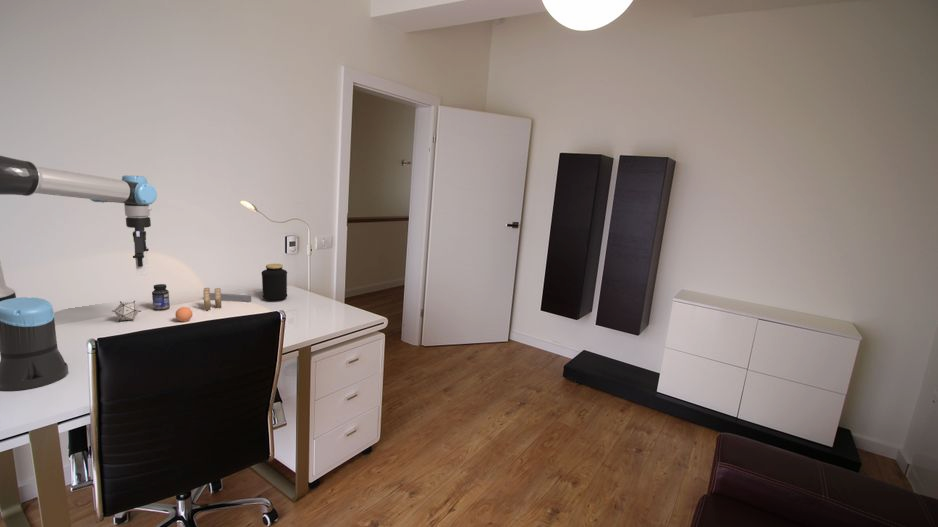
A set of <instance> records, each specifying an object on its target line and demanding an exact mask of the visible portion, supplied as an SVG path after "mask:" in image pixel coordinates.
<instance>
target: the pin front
mask: <svg viewBox="0 0 938 527" xmlns="http://www.w3.org/2000/svg"><path fill="white" fill-rule="evenodd" d="M210 293H211V290H210V291H209V290H205V291H204V290H203V307H204V309H203V310H210V311H211V307H210V303H211V300H210Z"/></svg>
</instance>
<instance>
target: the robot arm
mask: <svg viewBox="0 0 938 527" xmlns="http://www.w3.org/2000/svg"><path fill="white" fill-rule="evenodd" d="M34 194H39V195H40V194H41V195H48V196H59V197H68V198H77V199H85V200H86V199H87V200H90V201H92V202H94V203H118V204H124V205H123V206H124V215H125V216H126V218H125V225H126V228H130V229H131V228H132V229H133V228H134V231H132V237H133V243H134V244H133V245H134V255H132V258H133V259H135V270H136V276H143V275H144V276H145V275H147V274H146V273H147V272H146V271H147V270H146V268H149V265H148V264H149V263H148V252H149V248H148V246H147V241H146V240H147V231H146V230H145V228H150V227H151V226H152V224H151V217H150V216H151V215H150V214H151V213H150V211H152V208H151V207H150V205H152V204H154V203H155V202H156V200H157V197H158V196H157V195H158V193H157V190H156V188H155V186H153V185H152V184H150V183H148V180H147V177H145V176H144V175H128V174H127V175H123V176H122V177H121V179H116V178H110V177H104V176H98V175H92V174H85V173H80V172H73V171H66V170H62V169H61V170H59V169H55V168H47V167H44V166H43V167H42V166H37V165H36V164H35V163H33V162H32V161H28V160H21V159H16V158H13V157H9V156H8V157H7V156H4V155H0V195H4V196H5V195H12V196H13V195H14V196H25V197H26V196H27V197H29V196H32V195H34ZM4 276H5V275H4V271H3V268H2V263H1V261H0V390H1V391H8V392H9V391H10V392H11V391H13V392H14V391H22V390H23V391H24V390H30V389H34V388H39V387H43V386H47V385H49V384H52V383H55V382H57V381H60V380H61V379H64V378H65V377H67V375H69V364H68V363H67V362H65V359H64V357H63V355H62V354H61V352H60V350H59V349H58V340H57V332H56V323H55V322H56V321H55V312H54V308H53V305H52V303H51V302H50V301H49V300H46V299H45V298H39V297H28V296H26V297H25V296H23V297H17V296H16V291H15V289H14V288H11V287H9V286H8V285H6V280H5V277H4Z"/></svg>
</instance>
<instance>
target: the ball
mask: <svg viewBox="0 0 938 527" xmlns="http://www.w3.org/2000/svg"><path fill="white" fill-rule="evenodd" d="M193 314H194V313H193V310H192V309H191V308H190V307H187V306H183V307H179V308H177V309H176V311H175V318H176V319H177V320H178V321H180V322H188V321H189V320H191V319H192V317H193Z"/></svg>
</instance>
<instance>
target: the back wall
mask: <svg viewBox="0 0 938 527" xmlns="http://www.w3.org/2000/svg"><path fill="white" fill-rule="evenodd" d="M210 301H215V292H210ZM222 301H225V302H239V303H240V302H241V303H244V302H245V303H250V302H252V295H251V294H237V293H236V294H235V293H222V292H221V302H222Z"/></svg>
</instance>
